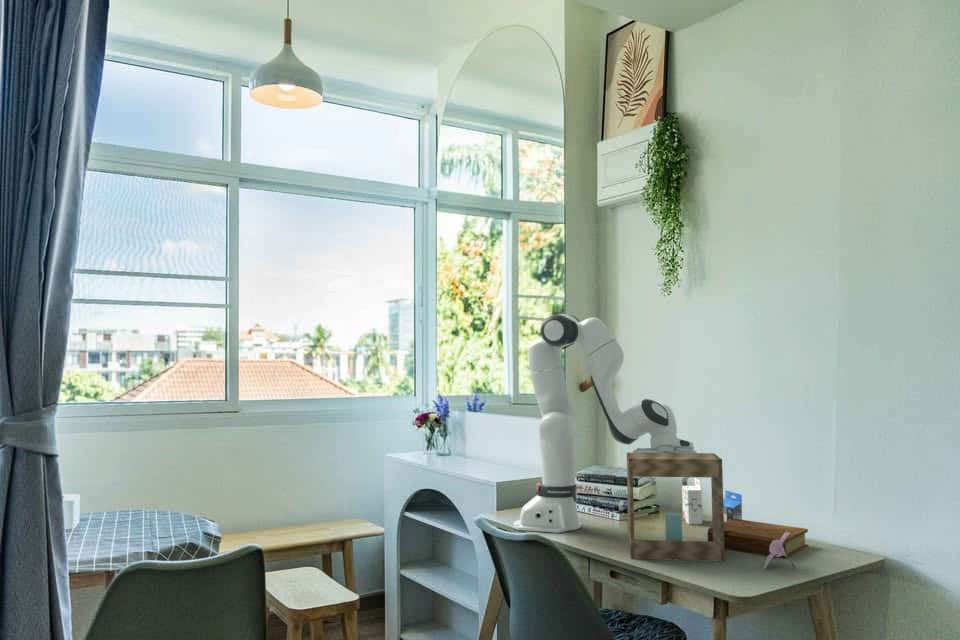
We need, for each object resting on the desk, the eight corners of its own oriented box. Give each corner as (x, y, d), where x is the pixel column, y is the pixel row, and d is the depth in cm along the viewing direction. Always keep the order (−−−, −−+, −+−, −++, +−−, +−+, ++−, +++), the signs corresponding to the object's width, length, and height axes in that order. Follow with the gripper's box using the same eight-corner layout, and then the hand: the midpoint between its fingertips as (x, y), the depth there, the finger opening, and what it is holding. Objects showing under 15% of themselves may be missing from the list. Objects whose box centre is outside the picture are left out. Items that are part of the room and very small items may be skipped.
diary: (707, 548, 229) (707, 528, 229) (734, 536, 243) (733, 518, 243) (785, 560, 214) (784, 539, 214) (808, 547, 227) (807, 528, 228)
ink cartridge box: (681, 519, 266) (681, 476, 267) (696, 519, 266) (695, 476, 267) (688, 524, 258) (687, 480, 258) (702, 524, 258) (701, 480, 258)
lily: (776, 562, 214) (758, 532, 215) (815, 552, 207) (796, 521, 207) (764, 585, 205) (745, 554, 205) (803, 576, 197) (784, 543, 198)
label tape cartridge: (716, 528, 252) (715, 490, 252) (726, 527, 253) (725, 490, 254) (733, 534, 243) (732, 495, 244) (743, 533, 245) (742, 494, 245)
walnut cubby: (630, 558, 215) (629, 458, 217) (628, 546, 229) (626, 452, 231) (724, 561, 212) (722, 459, 213) (716, 548, 226) (714, 453, 227)
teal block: (667, 553, 220) (666, 515, 221) (665, 550, 224) (665, 512, 225) (682, 554, 220) (681, 515, 220) (681, 550, 223) (680, 512, 224)
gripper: (632, 442, 244) (634, 477, 234) (698, 442, 241) (703, 478, 231) (631, 454, 248) (634, 490, 238) (696, 454, 245) (701, 490, 235)
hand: (668, 484), depth 235 cm, fingers open, 8 cm apart
